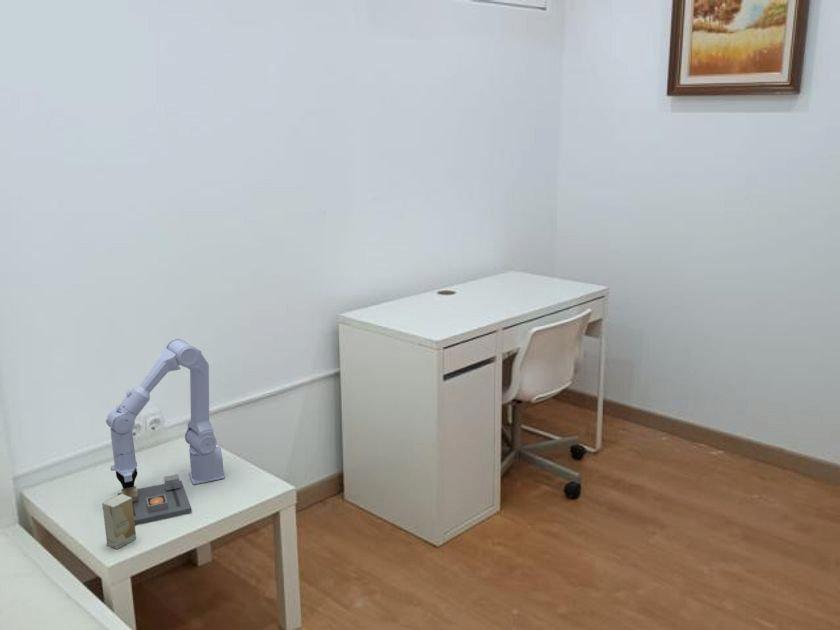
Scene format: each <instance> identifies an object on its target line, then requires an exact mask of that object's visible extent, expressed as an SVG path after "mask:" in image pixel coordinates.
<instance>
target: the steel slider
mask: <svg viewBox="0 0 840 630" xmlns="http://www.w3.org/2000/svg"><path fill="white" fill-rule="evenodd" d="M180 479H181V478H180V475H179V474H178V473H177V474H176V473H175V474H171V475H166V476H163V480H164V481H163V482H164V484H165V488H166V490H171V489H176V488H181V487H180Z"/></svg>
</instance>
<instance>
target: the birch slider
mask: <svg viewBox="0 0 840 630" xmlns="http://www.w3.org/2000/svg"><path fill="white" fill-rule="evenodd" d="M137 489H138V488H137V486H135V485H134V487H130V488H125V489H123V488H121V489H120V490H121V492H122V494H124V495H127V496H129V497H131V498H132V502H133V501H137V500H138V493H137Z"/></svg>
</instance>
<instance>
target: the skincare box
mask: <svg viewBox="0 0 840 630" xmlns="http://www.w3.org/2000/svg"><path fill="white" fill-rule="evenodd" d="M102 512H103V519H104V521H103V522H104V529H105V539H106V545H107V546H109V547H111V548H113V549H116V550H118V549H120V548H122V547H124V546H125V545H128V544H129V543H131V542H134V541H135V540H136V539H137V534H136V525H135V523H134V513H133V504H132V498H131V497H129V496H127V495H124V494H120V495H118V494H117V495H116V496H114V497H112V498H110V499H108V500H106V501H104V502H102Z"/></svg>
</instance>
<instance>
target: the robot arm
mask: <svg viewBox="0 0 840 630" xmlns="http://www.w3.org/2000/svg"><path fill="white" fill-rule="evenodd" d="M180 366H182V367H183V368H186V369H188V370H189V375H190V378H189V379H190V381H189V384H190V385H189V387H190V389H189V390H190V421H188V422H187V429H186V431H185V434H184V441H186V443H187V444H188V445H189V449H188V452H189V461H190V471H189V472H188V476H189V479H190V480H191V481H190V482H191V483H192V485H194V486H195V485H200V484H203V483H208V482H214V481H219V480H223V479H225V470H224V469H225V468H224V460H223V459H224V458H223V453H222V449H221V447H220V446H217V444H218V443H217V438H216V437H215V434H214V428H213V426H212V424H211V421H210V365H209V363H208V361H207V360H206V358H205V357H204V355H203V354H202V351H201V350H200V349H198V348H197V347H195V346H193V345H191V344H189V343H188V342H187V341H185V340H183V339H180V338H174V339H172V340H170V341H169V342H168V343H167V345H166V346H165V347H164V348H163V349H162V350H161V352H160V355H159V357H158V359H157V360H156V362H155V363H154V364H153V366H152V367H151V369H150V371H148V373H147V375H146V376H145V377H144V379H143V380H142V382H141V383H140V384H139V385H138V386H134V387H132V388H131V390H128V391H126V392H125V394H126V396H125V397H124V399H123V400H122V401H121V403H120V404H118V405H116V407H115V408H114V410H111V411H110V412H109V413H108V415H107V418H106V419H105V423H106V424H107V426H108V427H110V440H111V447H112V452H113V453H112V455H113V462H114V465H110V471H113V472H114V471H115V476H116V479H117V480H118V481H119V482H120V484H121V487H122V489H125V488H130V487H134V486H135V481H136V479H137V476H138V469H137V467H138V462H137V459H136V451H135V443H134V442H135V441H134V434H133V429H134V427H135V425H136V423H135V422H136V421H135V420H136V418H137V416H138V415H139V414H140V413H141V412H142V410H143V409H144V408H145V407H146V405H147V404H148V403H149V401H150V399H151V395H150V394H151V392H153V390H154V389H155V387H157V385H158V384H159V383H161V381H162V380H163V378H164V377H165V376H166V375H167V374H168V373H169V372H172V371H178V370H181V367H180Z"/></svg>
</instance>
